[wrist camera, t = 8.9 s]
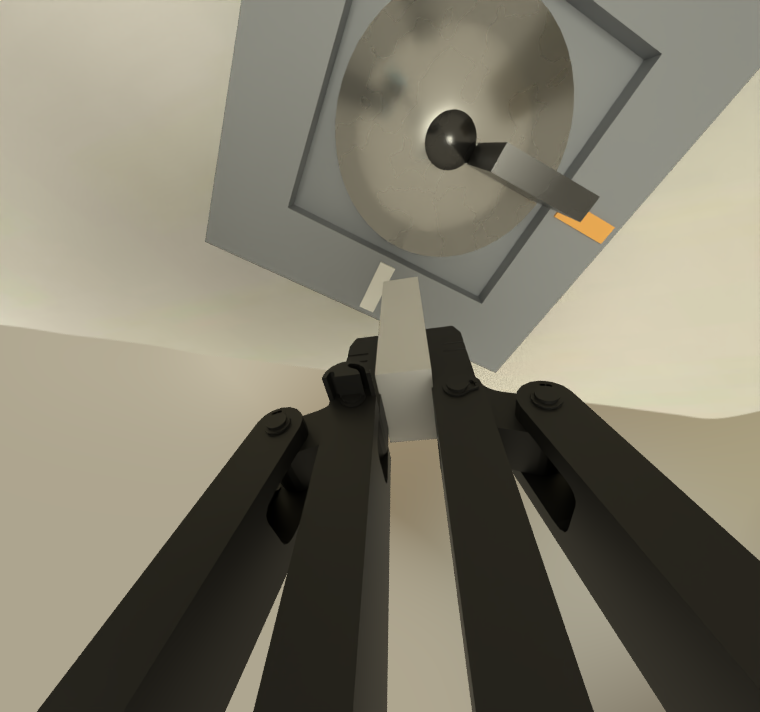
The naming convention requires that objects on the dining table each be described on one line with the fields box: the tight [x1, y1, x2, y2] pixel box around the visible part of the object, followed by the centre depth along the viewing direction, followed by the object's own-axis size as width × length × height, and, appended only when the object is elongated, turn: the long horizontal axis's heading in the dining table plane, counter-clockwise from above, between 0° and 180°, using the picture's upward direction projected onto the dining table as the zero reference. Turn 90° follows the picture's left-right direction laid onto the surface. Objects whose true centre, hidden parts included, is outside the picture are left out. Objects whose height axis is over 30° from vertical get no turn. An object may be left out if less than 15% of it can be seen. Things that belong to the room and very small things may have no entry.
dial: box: [335, 0, 600, 257], centre depth 17 cm, size 14×14×8 cm
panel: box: [205, 0, 760, 373], centre depth 21 cm, size 26×26×3 cm
